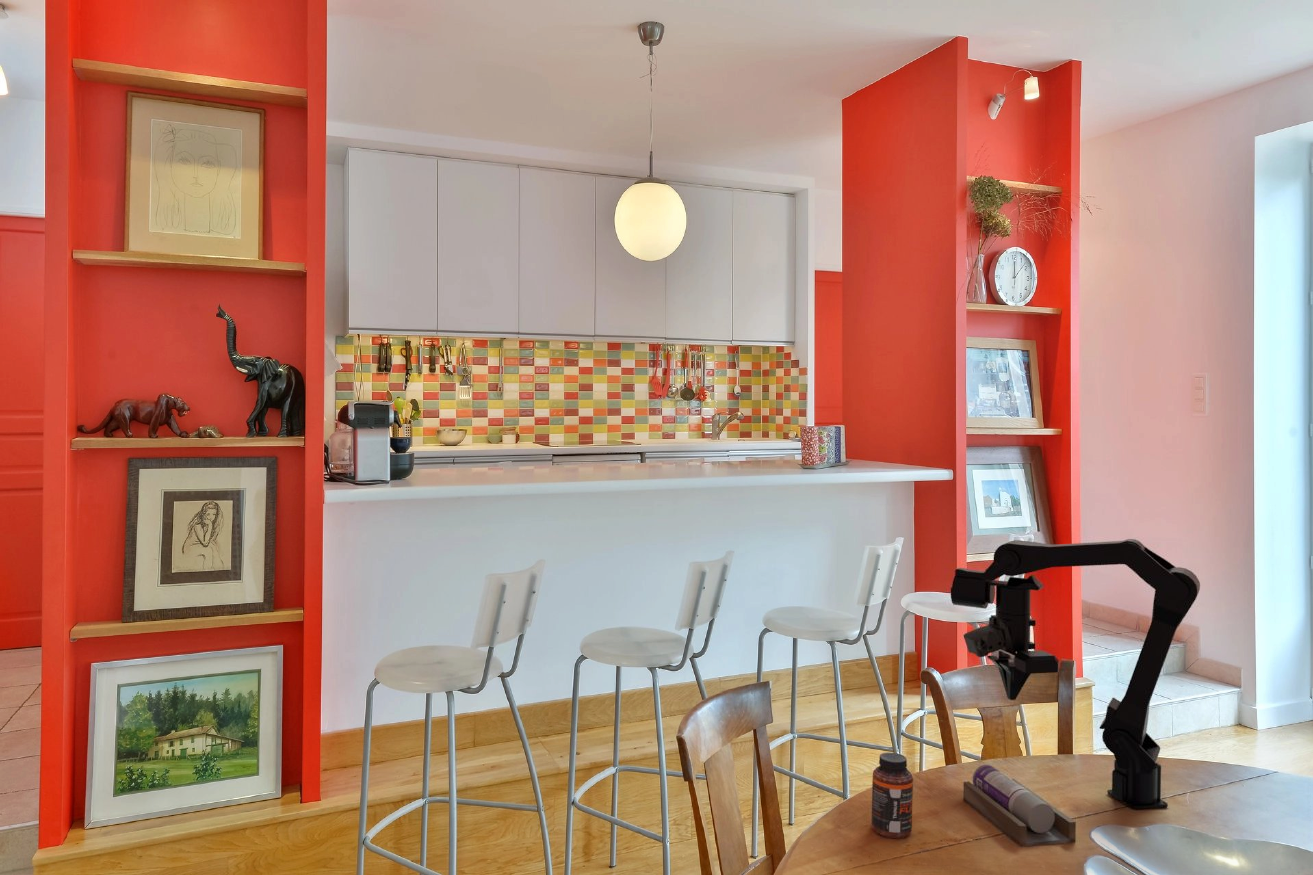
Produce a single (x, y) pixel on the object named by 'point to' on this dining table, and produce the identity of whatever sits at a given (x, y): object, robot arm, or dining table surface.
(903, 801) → the supplement bottle
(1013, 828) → the cradle
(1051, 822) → the container
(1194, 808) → the dining table surface
